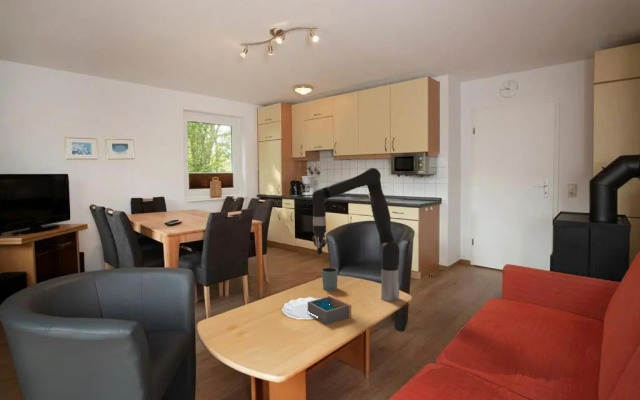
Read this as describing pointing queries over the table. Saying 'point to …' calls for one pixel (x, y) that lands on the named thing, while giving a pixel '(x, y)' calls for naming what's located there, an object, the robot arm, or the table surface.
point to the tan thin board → (340, 304)
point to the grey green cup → (329, 278)
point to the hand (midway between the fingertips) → (319, 254)
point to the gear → (325, 305)
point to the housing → (327, 312)
